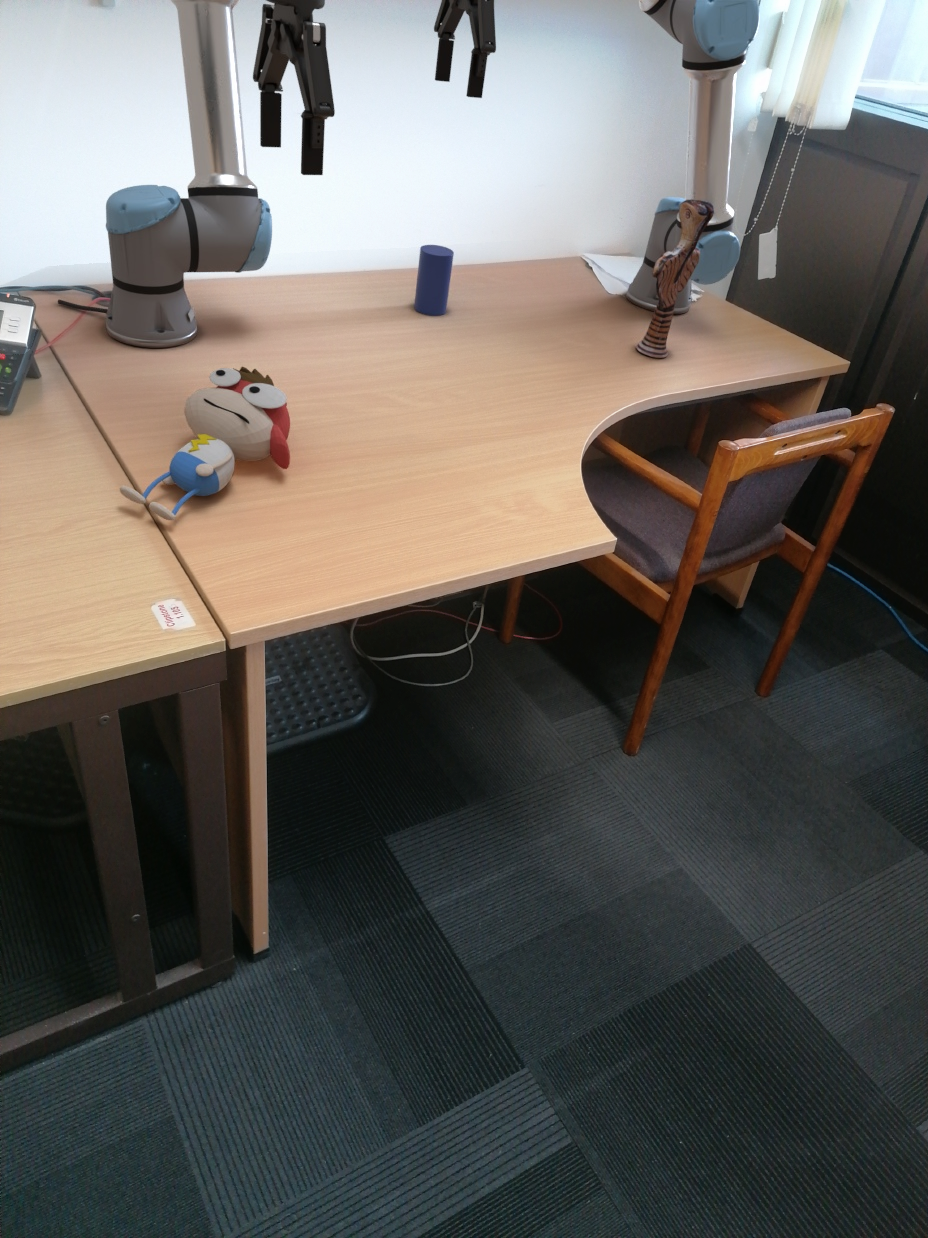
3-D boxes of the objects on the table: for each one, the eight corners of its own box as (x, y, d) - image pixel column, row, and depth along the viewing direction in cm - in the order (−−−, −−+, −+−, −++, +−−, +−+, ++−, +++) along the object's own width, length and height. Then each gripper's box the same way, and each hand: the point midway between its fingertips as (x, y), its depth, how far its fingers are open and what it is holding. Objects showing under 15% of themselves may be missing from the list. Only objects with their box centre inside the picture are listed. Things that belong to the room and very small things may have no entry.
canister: (412, 312, 183) (418, 252, 176) (415, 301, 189) (422, 242, 181) (444, 317, 184) (452, 257, 176) (447, 306, 189) (454, 247, 181)
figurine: (653, 337, 192) (695, 188, 173) (684, 349, 189) (731, 199, 170) (621, 353, 182) (662, 197, 163) (654, 366, 179) (700, 209, 160)
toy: (74, 438, 111) (231, 346, 131) (86, 500, 119) (233, 404, 138) (190, 502, 107) (335, 397, 127) (195, 561, 114) (330, 454, 134)
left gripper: (370, -17, 100) (357, 186, 113) (282, -46, 115) (280, 136, 128) (308, -25, 96) (302, 186, 109) (225, -53, 111) (229, 134, 124)
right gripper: (424, -68, 155) (411, 72, 168) (488, -52, 138) (469, 102, 151) (462, -62, 158) (447, 75, 171) (530, -46, 141) (507, 105, 154)
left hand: (290, 160), depth 119 cm, fingers open, 13 cm apart
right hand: (457, 88), depth 161 cm, fingers open, 13 cm apart
